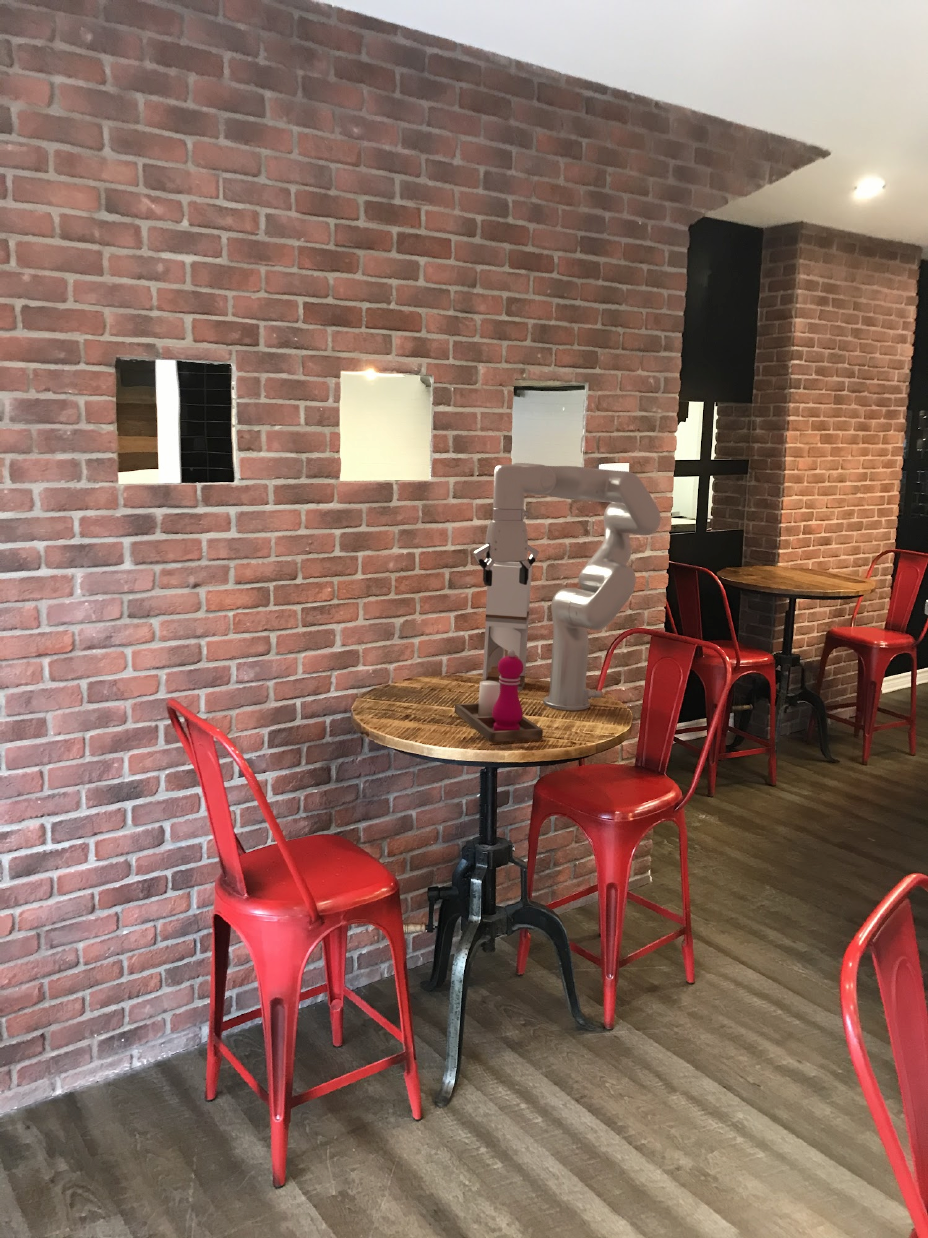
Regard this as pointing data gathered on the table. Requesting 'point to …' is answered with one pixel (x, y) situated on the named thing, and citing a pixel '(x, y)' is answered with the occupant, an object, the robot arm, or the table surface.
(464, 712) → the walnut cruet tray
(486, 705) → the salt shaker
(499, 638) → the spiral ramp tower
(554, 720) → the table surface
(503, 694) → the pepper mill
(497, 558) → the robot arm
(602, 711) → the table surface
